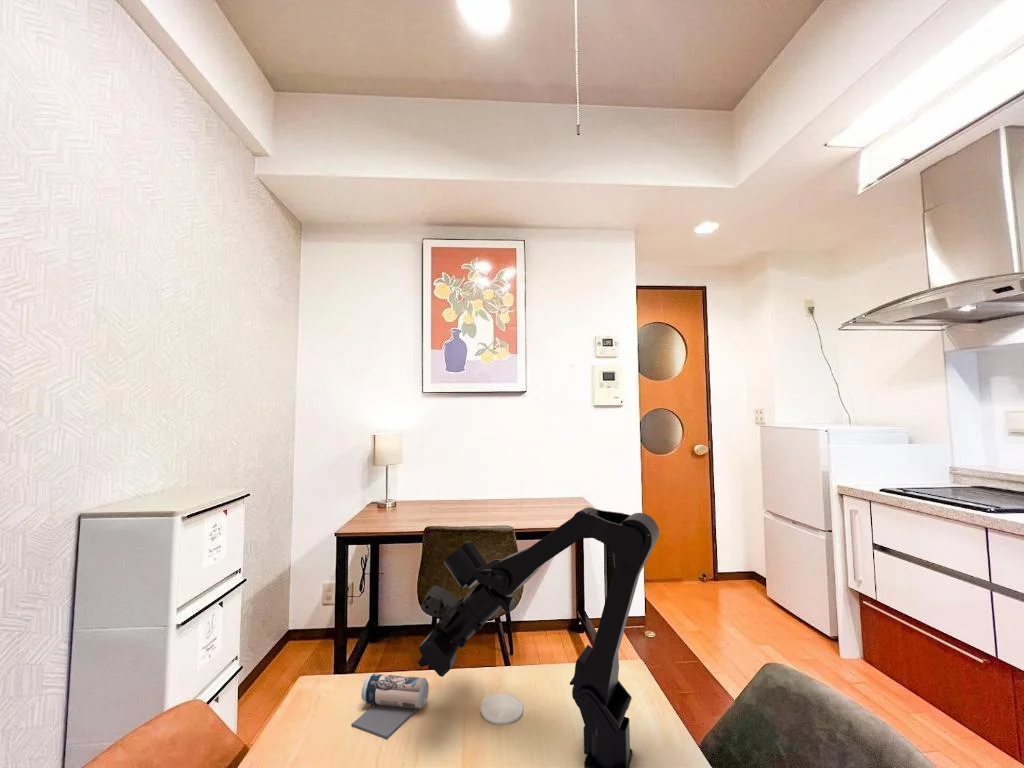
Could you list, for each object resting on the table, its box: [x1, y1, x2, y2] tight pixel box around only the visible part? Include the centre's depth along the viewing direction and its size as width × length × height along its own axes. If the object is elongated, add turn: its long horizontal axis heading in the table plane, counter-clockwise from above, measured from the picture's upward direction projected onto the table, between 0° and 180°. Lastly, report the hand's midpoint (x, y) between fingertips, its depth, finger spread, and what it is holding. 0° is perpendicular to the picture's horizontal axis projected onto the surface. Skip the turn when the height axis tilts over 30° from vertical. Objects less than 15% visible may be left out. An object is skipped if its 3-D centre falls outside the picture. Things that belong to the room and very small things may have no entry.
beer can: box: [360, 673, 430, 710], centre depth 85 cm, size 5×5×12 cm
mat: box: [351, 704, 420, 740], centre depth 82 cm, size 8×10×1 cm
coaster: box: [480, 692, 524, 726], centre depth 84 cm, size 8×8×1 cm
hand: (420, 663), depth 85 cm, fingers closed
